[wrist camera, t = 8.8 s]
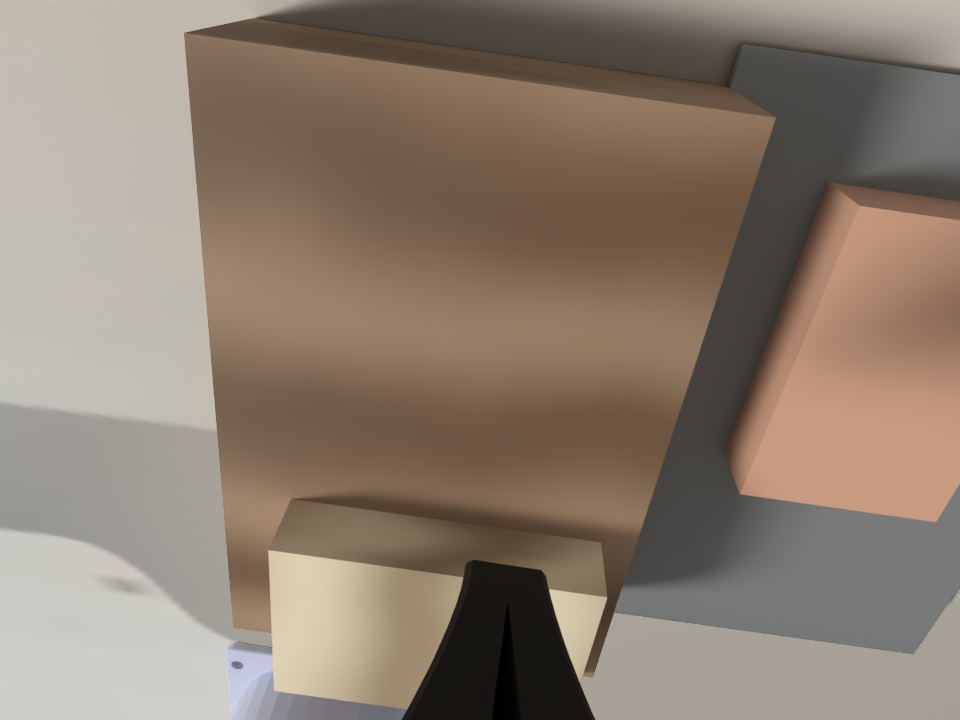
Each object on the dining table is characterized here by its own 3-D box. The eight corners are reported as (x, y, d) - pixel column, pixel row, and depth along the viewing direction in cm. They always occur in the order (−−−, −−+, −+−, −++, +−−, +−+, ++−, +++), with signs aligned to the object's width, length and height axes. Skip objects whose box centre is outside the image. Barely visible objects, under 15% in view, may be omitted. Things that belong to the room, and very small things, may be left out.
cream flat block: (601, 542, 20) (607, 597, 18) (562, 673, 23) (565, 731, 21) (290, 499, 20) (268, 550, 18) (293, 635, 23) (273, 691, 21)
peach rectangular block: (739, 494, 21) (724, 453, 23) (935, 522, 21) (905, 479, 23) (859, 205, 16) (828, 182, 18) (1109, 242, 16) (1054, 215, 18)
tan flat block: (584, 583, 26) (592, 677, 23) (272, 540, 26) (233, 627, 23) (727, 86, 17) (776, 117, 14) (253, 18, 17) (183, 33, 14)
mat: (909, 647, 27) (913, 654, 27) (579, 601, 27) (580, 607, 27) (1264, 118, 17) (1276, 120, 17) (740, 42, 17) (743, 44, 17)
